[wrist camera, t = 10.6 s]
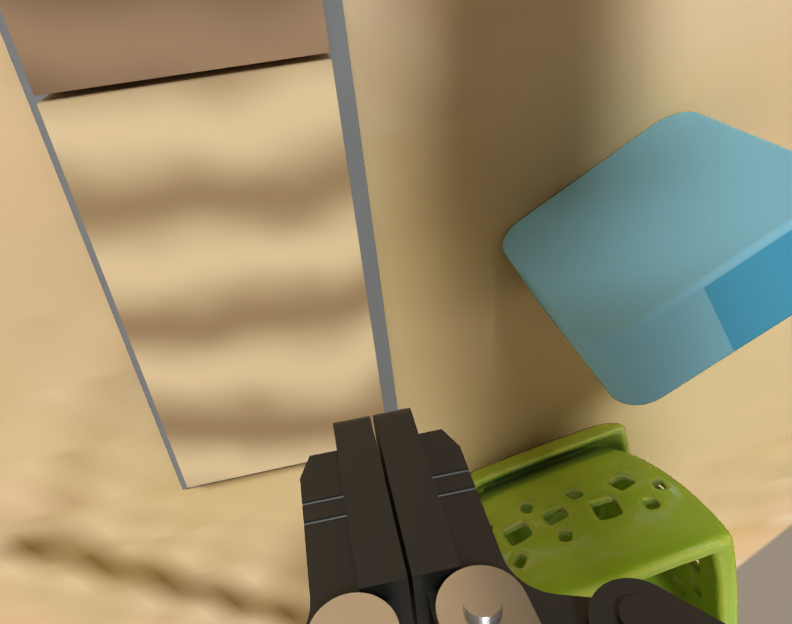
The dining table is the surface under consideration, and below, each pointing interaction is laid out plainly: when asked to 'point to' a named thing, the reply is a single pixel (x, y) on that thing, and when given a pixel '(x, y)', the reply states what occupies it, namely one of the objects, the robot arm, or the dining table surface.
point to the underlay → (358, 190)
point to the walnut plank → (155, 37)
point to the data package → (664, 254)
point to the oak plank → (228, 255)
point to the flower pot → (606, 522)
